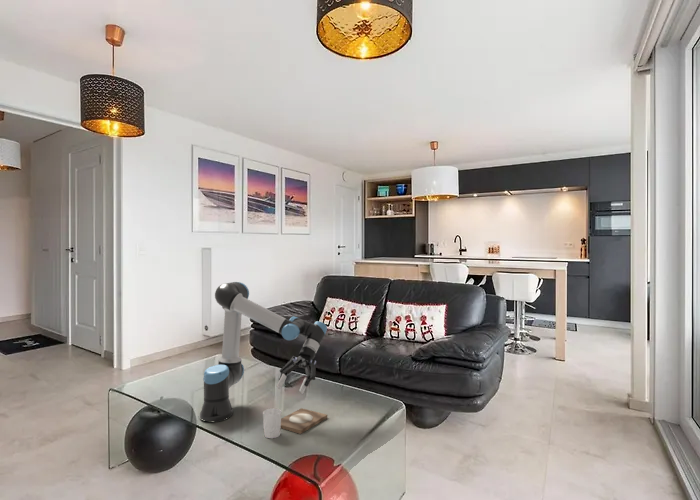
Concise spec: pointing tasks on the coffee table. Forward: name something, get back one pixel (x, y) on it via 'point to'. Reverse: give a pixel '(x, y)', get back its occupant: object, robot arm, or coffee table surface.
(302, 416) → the serving board
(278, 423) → the white cup
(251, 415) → the coffee table surface
